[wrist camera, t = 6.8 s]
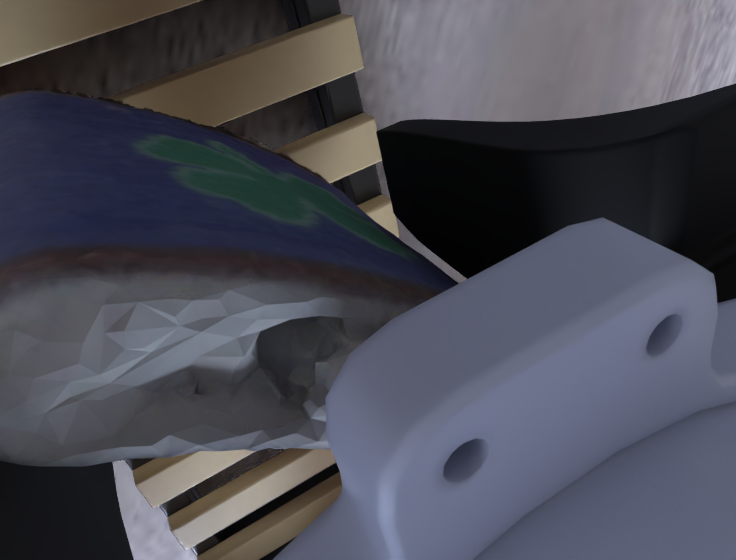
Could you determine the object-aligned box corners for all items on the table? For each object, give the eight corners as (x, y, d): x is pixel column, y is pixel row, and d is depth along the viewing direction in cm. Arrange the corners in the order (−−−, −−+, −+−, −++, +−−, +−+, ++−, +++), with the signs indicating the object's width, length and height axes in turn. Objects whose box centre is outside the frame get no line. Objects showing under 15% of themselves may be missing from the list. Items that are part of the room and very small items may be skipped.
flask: (-46, 182, 12) (-140, 677, 4) (-10, 40, 11) (-31, 266, 3) (328, 273, 18) (622, 555, 9) (367, 181, 17) (723, 398, 9)
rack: (206, 559, 26) (231, 638, 23) (-239, -49, 12) (-320, -42, 9) (423, 428, 29) (470, 483, 26) (278, -178, 15) (344, -204, 12)
